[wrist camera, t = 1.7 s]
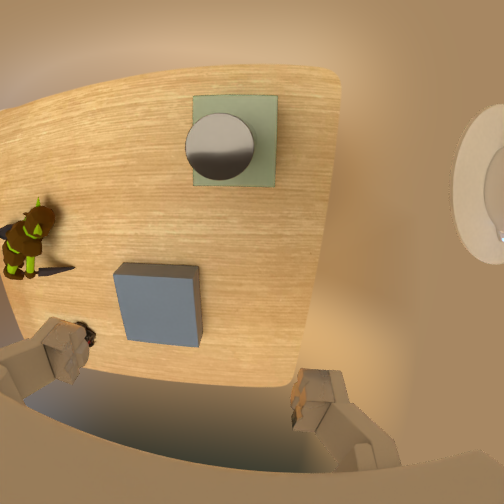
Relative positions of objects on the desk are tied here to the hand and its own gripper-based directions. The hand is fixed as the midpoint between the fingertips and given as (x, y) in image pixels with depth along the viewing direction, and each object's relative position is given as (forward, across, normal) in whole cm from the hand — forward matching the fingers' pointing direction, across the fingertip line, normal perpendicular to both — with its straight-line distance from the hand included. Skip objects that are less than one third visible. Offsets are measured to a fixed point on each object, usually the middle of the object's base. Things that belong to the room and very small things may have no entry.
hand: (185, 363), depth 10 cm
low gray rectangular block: (+32, +10, +19) cm, 38 cm away
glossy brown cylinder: (+22, +1, -6) cm, 22 cm away
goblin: (+32, +33, +12) cm, 47 cm away
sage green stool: (+32, +1, -6) cm, 32 cm away
